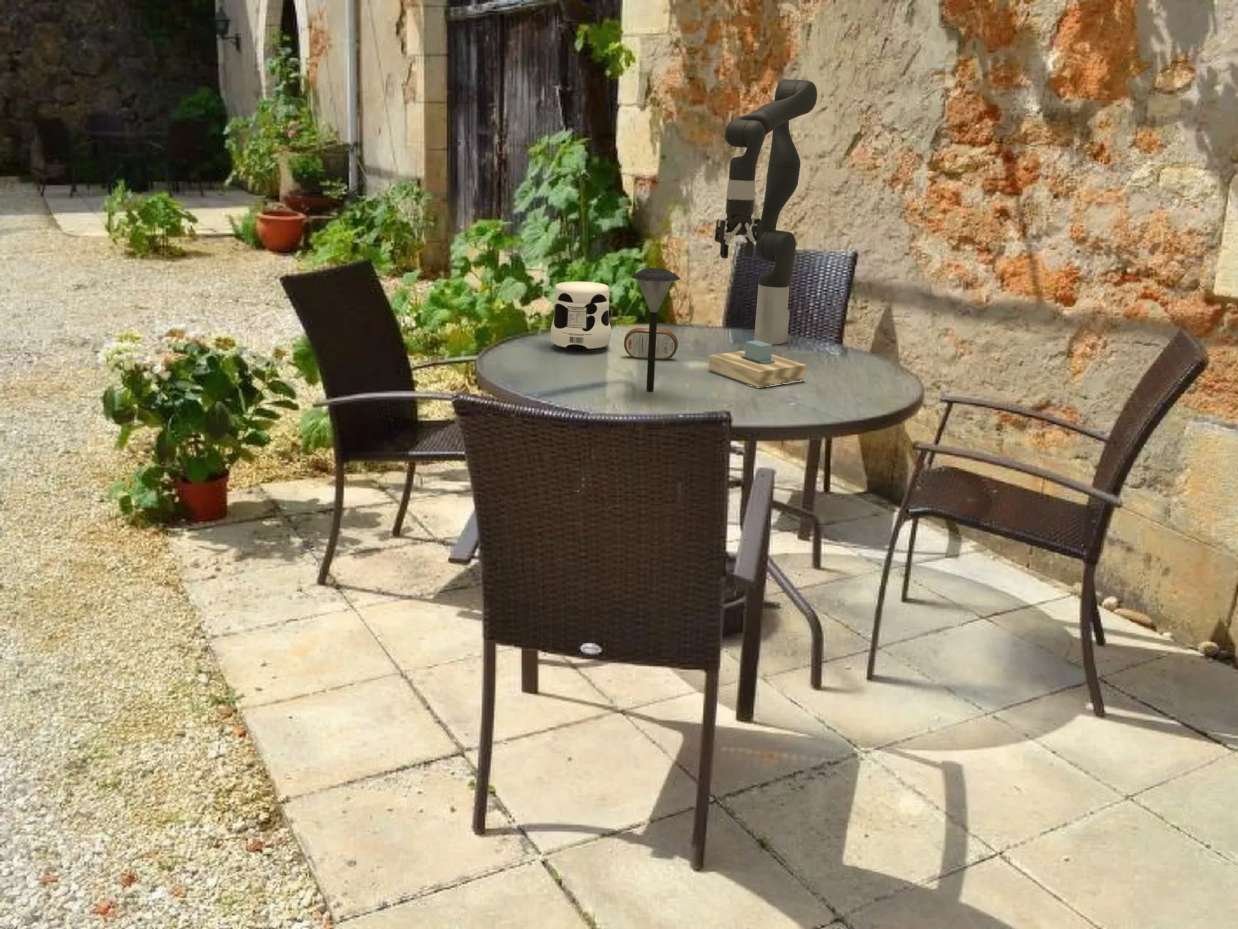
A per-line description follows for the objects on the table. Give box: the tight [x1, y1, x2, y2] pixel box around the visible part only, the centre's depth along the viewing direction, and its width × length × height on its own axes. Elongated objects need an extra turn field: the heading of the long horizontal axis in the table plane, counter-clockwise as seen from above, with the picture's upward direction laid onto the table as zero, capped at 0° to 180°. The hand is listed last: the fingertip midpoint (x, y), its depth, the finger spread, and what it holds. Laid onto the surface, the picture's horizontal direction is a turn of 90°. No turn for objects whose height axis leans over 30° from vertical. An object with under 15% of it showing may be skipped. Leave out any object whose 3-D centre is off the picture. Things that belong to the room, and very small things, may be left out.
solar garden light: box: [629, 267, 681, 393], centre depth 263 cm, size 12×12×30 cm
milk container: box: [550, 280, 612, 353], centre depth 307 cm, size 17×17×18 cm
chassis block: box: [708, 350, 807, 388], centre depth 285 cm, size 16×20×4 cm
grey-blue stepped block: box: [741, 340, 775, 365], centre depth 284 cm, size 4×9×8 cm, turn 35°
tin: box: [623, 327, 679, 361], centre depth 299 cm, size 15×3×8 cm, turn 84°
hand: (736, 257), depth 297 cm, fingers open, 8 cm apart
